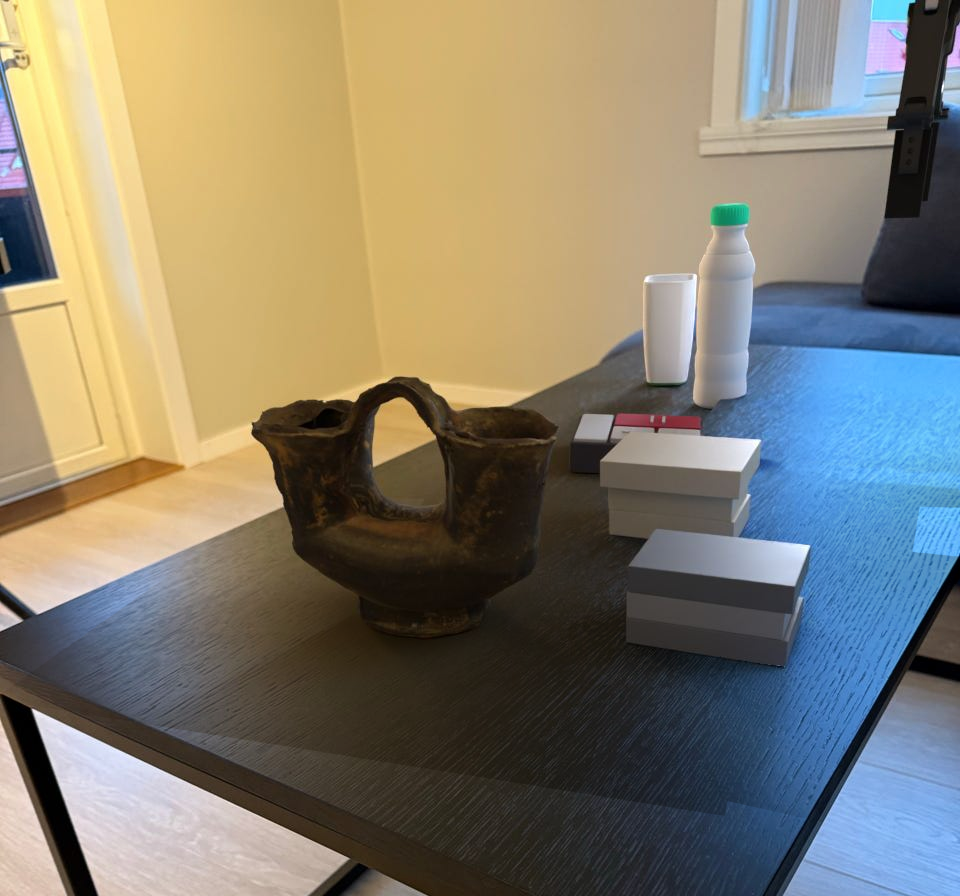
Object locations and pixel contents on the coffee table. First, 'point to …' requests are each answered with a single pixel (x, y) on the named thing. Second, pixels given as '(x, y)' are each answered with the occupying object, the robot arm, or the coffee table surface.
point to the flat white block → (681, 464)
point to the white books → (675, 513)
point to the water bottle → (724, 308)
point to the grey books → (717, 595)
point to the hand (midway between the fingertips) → (907, 209)
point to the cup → (668, 326)
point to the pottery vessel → (412, 529)
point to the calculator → (620, 435)
